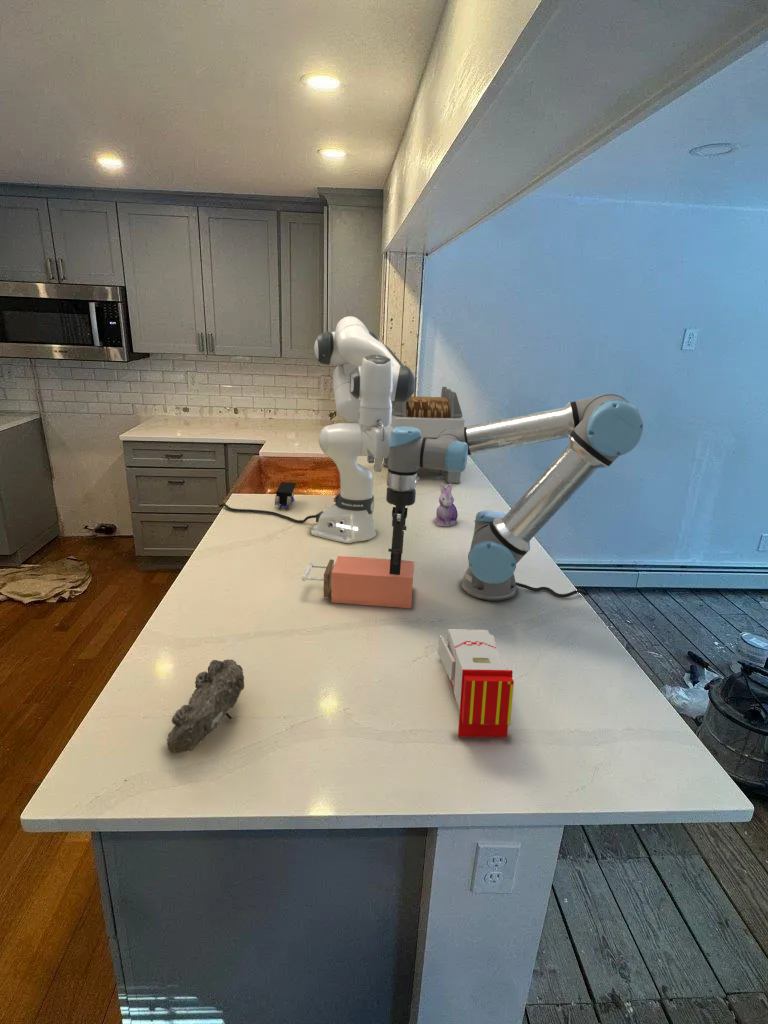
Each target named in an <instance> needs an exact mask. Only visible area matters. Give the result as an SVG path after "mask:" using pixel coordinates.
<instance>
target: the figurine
mask: <svg viewBox="0 0 768 1024" xmlns="http://www.w3.org/2000/svg"><path fill="white" fill-rule="evenodd" d="M452 489H453V483H449V484H448V485H447V487H445V485H444V484H443V483H441V484H440V494H439V497H438V503H439V506H438V507H437V508H436V513H435V515H436V517H435V521H434V522H435V523H436V524H437V526H440V527H450V526H454V525H455V524H457V520H458V517H459V516H458V514H459V513H458V510H457V507H456V505H455V504H454V502H455V498H454V495H453V493H452Z"/></svg>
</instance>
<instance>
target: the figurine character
mask: <svg viewBox="0 0 768 1024" xmlns="http://www.w3.org/2000/svg"><path fill="white" fill-rule="evenodd" d="M296 485H297V483H296V482H286V481H285V482H284V481H280V483H279V486H278V487H277V490H276V491H275V497H274V498H275V499H274V506H278V509H279V510H282V507H285V508H286V510H288V509H289V507H290V506H292V503H294V502H295V499H294V497H295V493H294V490H295V487H296Z"/></svg>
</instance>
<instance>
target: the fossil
mask: <svg viewBox="0 0 768 1024" xmlns="http://www.w3.org/2000/svg"><path fill="white" fill-rule="evenodd" d="M243 670H244V669H243V667H242V665H240V664H237V662H236V661H235V660H234V659H232V658H231V659H227V658H226V659H224V660H223V661H222V660H217V659H212V660H211V661H210V663H209V665H208V666H207V671H201V672H199V673H198V674H197V675H196V676H195V680H194V684H195V685H194V687H195V689H194V690H193V693H192V694H191V697H190V698H189V700H188V704H184V705H182V706H181V707H180V709H177V710H176V711H175V713H174V715H173V716H172V718H171V723H172V724H173V727H172V730H171V731H170V732H168V734H167V738H166V741H167V742H166V745H167V749H168V750H169V751H173V752H174V753H176V754H178V753H182V752H188V751H189V752H192V751H193V750H195V748H196V747H197V746H199V744H200V743H201V742H203V741H204V740H205V739H206V738H207V737H208V736H209V735H210V734H211V733H212V732H214V730H215V729H217V727H218V726H219V724H220V722H221V721H222V720H223V719H224V718H225V716H226V717H227V719H229V720H233V717H232V715H230V714H229V710H230V709H231V708H234V706H235V704H236V703H237V702H238V699H239V697H240V695H241V693H242V691H243V690H245V689H244V688H245V675H244V671H243Z"/></svg>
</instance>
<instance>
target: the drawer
mask: <svg viewBox="0 0 768 1024" xmlns="http://www.w3.org/2000/svg"><path fill="white" fill-rule="evenodd" d="M334 565H335V560H334V559H329V561H328V563H327V564H326V565H323V564H313V563H312V562H309V563H308V564H307V566H306V569H305V571H304V572H303V575H302V576H301V581H302V582H306V581H316V582H318V581H319V582H323V598H327V599H328V598H329V597H330V595H331V592H332V570H333V568H334ZM313 568H315V569H316V568H317V569H325V570H324V572H323V573H324V574H323V577H311V576H309V575H310V572H311V570H312V569H313Z"/></svg>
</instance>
